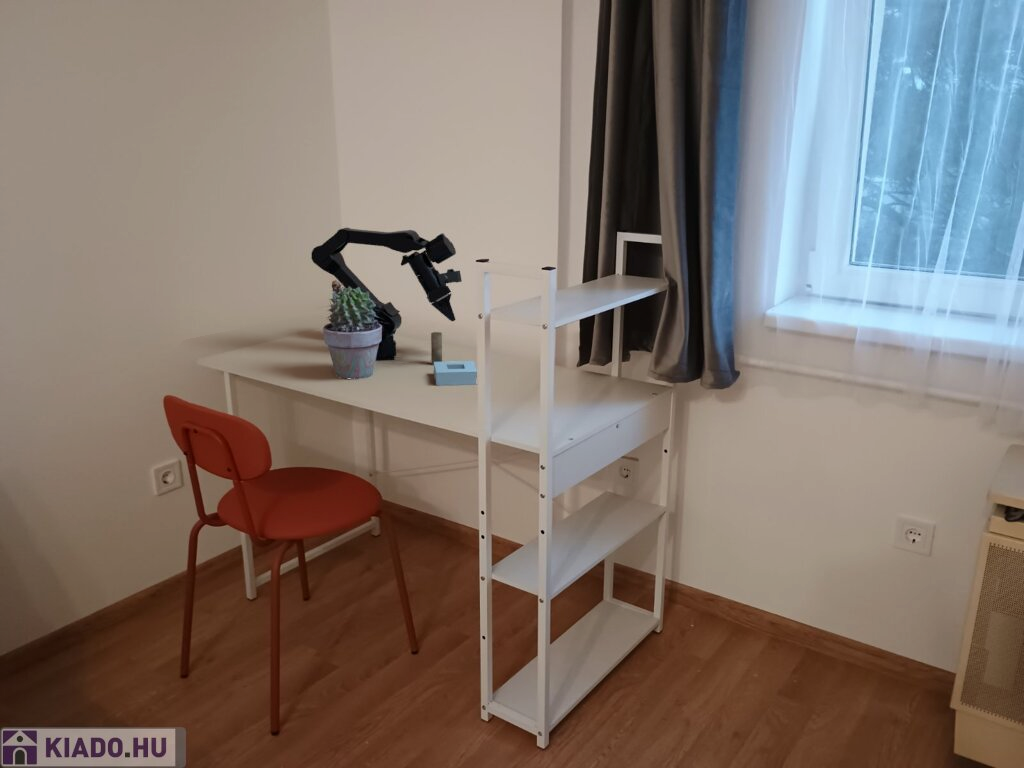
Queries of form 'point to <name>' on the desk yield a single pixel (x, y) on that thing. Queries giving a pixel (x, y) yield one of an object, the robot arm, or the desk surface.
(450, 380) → the socket block
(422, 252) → the robot arm
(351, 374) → the potted plant
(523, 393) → the desk surface
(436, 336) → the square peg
